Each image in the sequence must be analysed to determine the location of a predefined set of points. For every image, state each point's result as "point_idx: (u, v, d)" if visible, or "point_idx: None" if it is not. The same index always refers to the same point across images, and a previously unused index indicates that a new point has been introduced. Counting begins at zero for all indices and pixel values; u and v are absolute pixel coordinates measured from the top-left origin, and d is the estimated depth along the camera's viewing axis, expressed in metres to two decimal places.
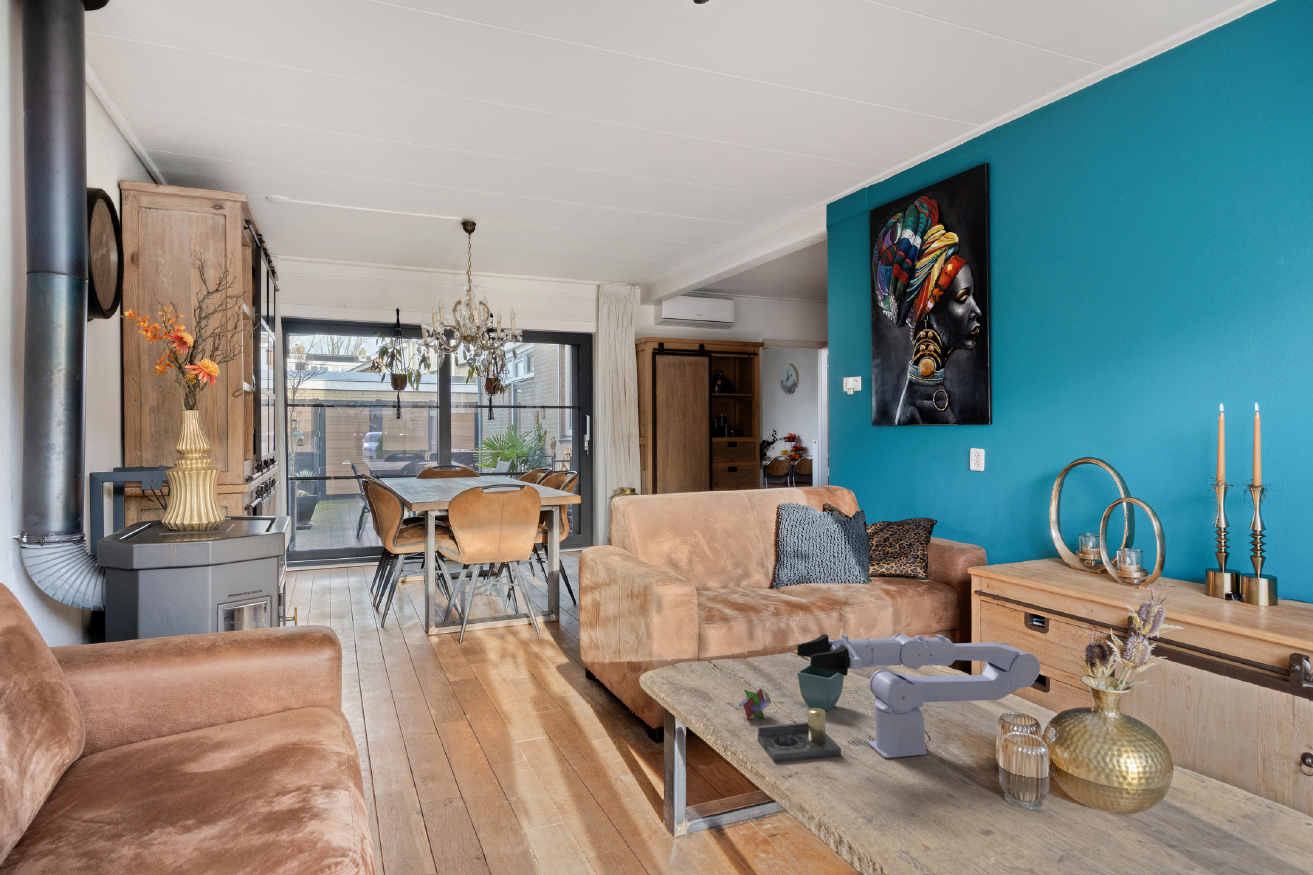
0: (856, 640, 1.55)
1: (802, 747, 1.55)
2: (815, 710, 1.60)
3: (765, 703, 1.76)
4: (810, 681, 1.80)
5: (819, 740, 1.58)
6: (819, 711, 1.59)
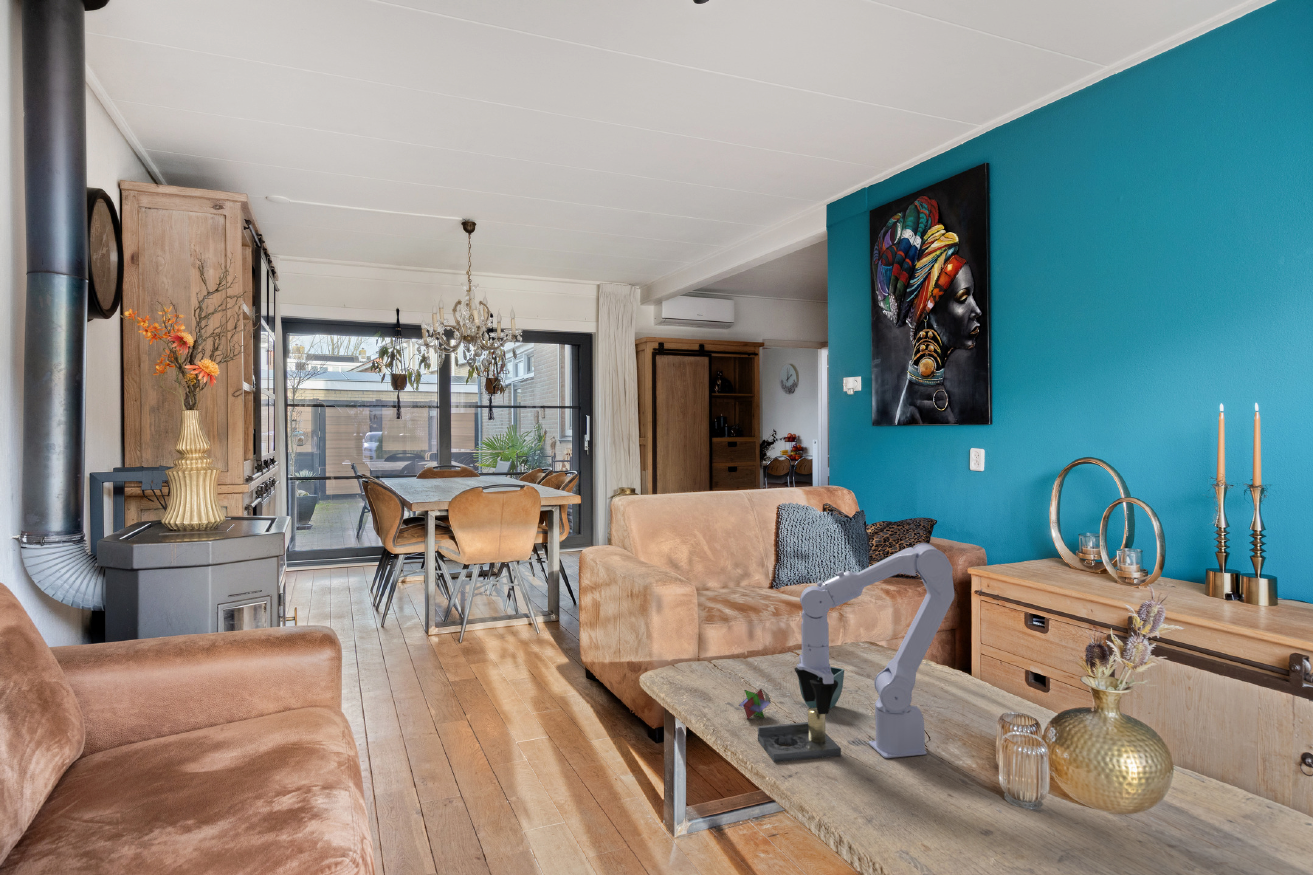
0: (803, 655, 1.59)
1: (802, 747, 1.55)
2: (815, 710, 1.60)
3: (765, 703, 1.76)
4: None
5: (819, 740, 1.58)
6: None
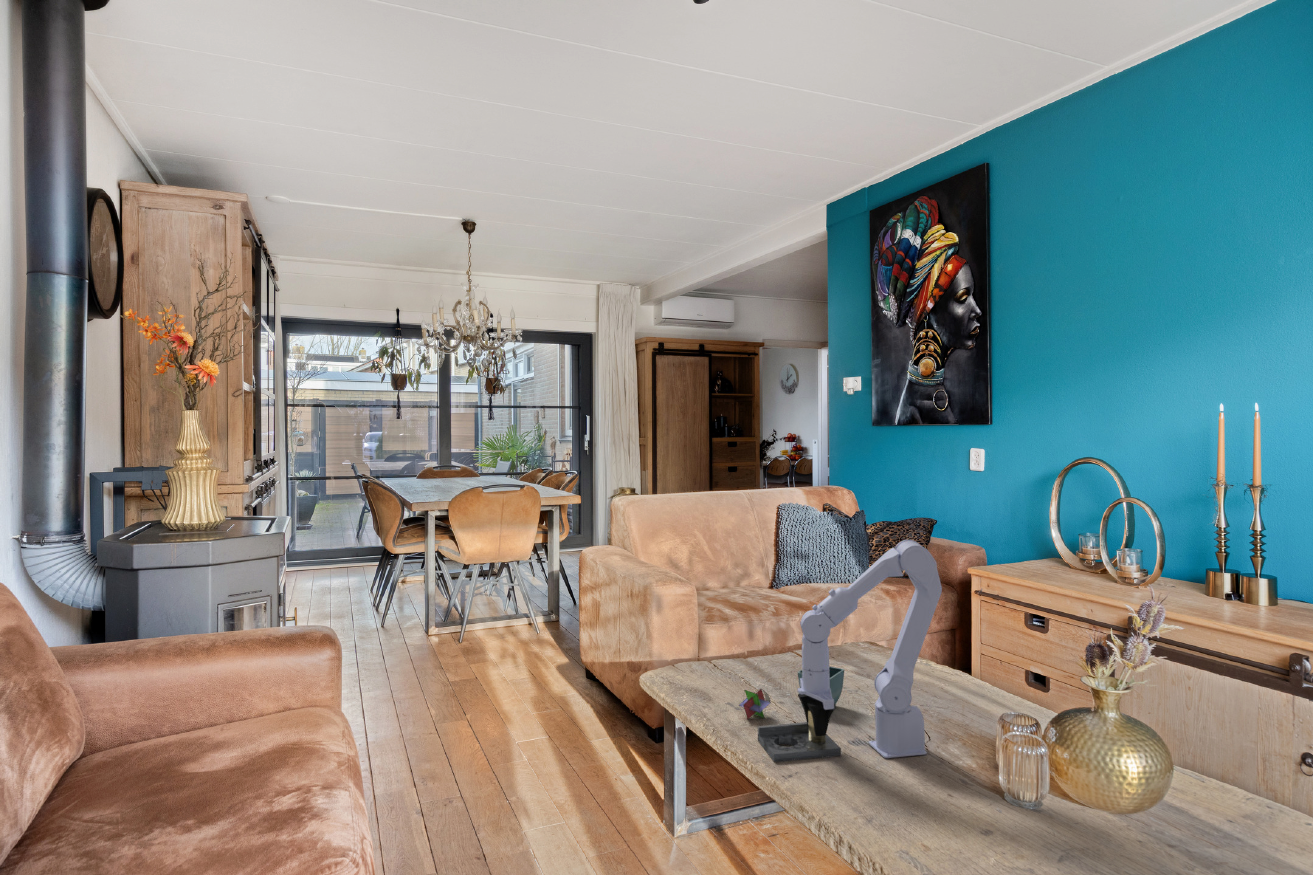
0: (804, 680, 1.59)
1: (802, 747, 1.55)
2: None
3: (765, 703, 1.76)
4: None
5: (819, 740, 1.58)
6: None
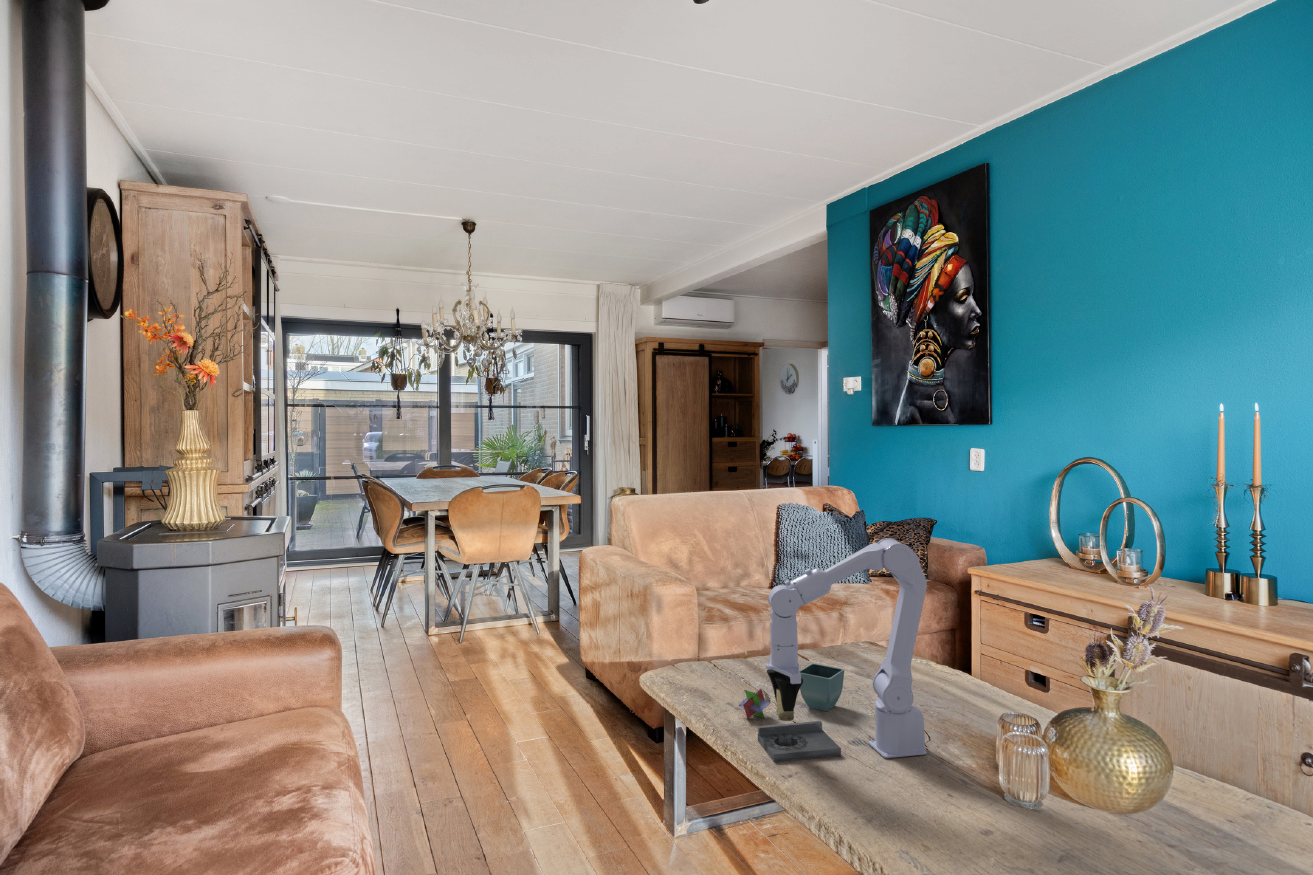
0: (772, 655, 1.58)
1: (802, 747, 1.55)
2: None
3: (765, 703, 1.76)
4: (810, 681, 1.80)
5: (787, 719, 1.56)
6: None
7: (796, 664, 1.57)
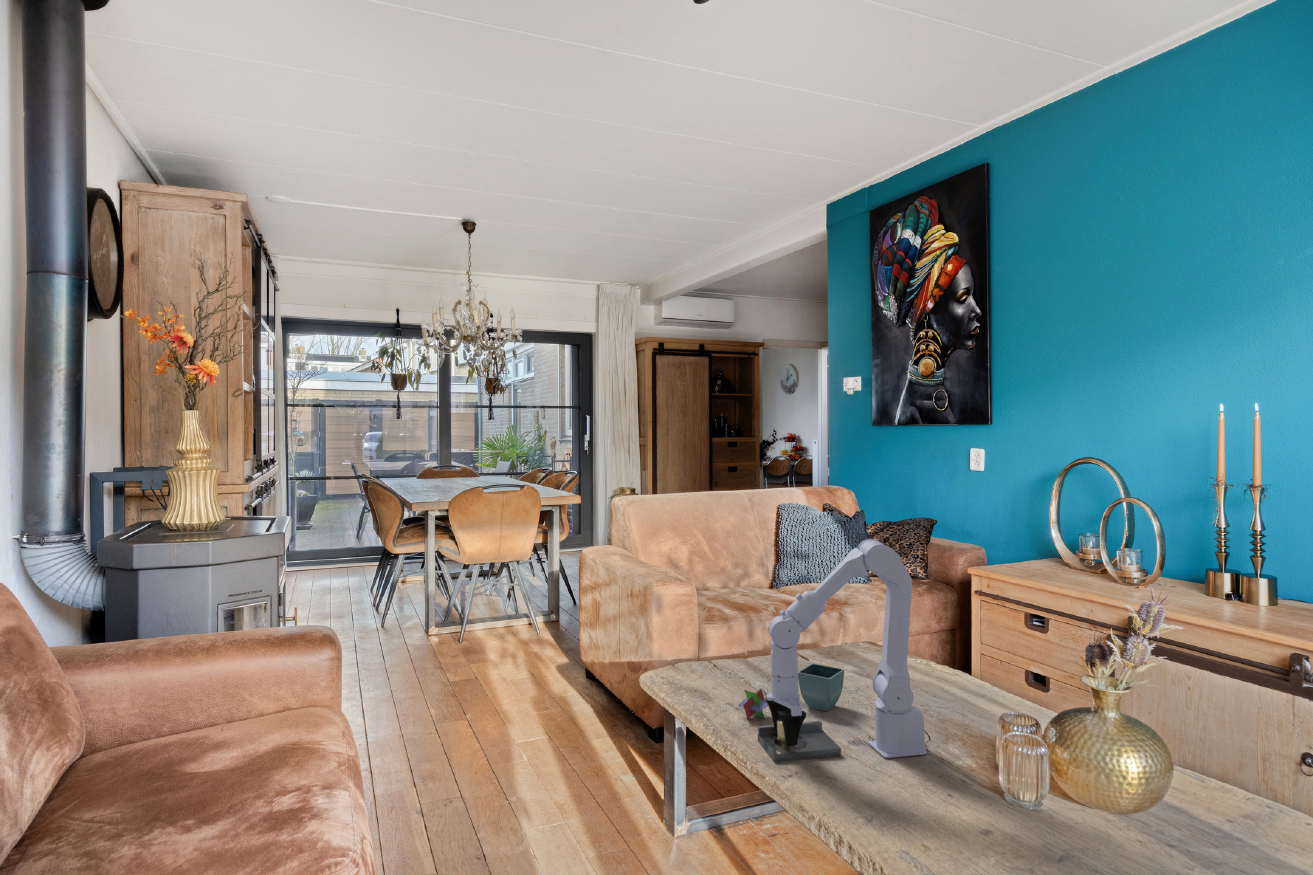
0: (772, 686, 1.57)
1: (802, 747, 1.55)
2: None
3: (765, 703, 1.76)
4: (810, 681, 1.80)
5: None
6: None
7: (797, 695, 1.57)
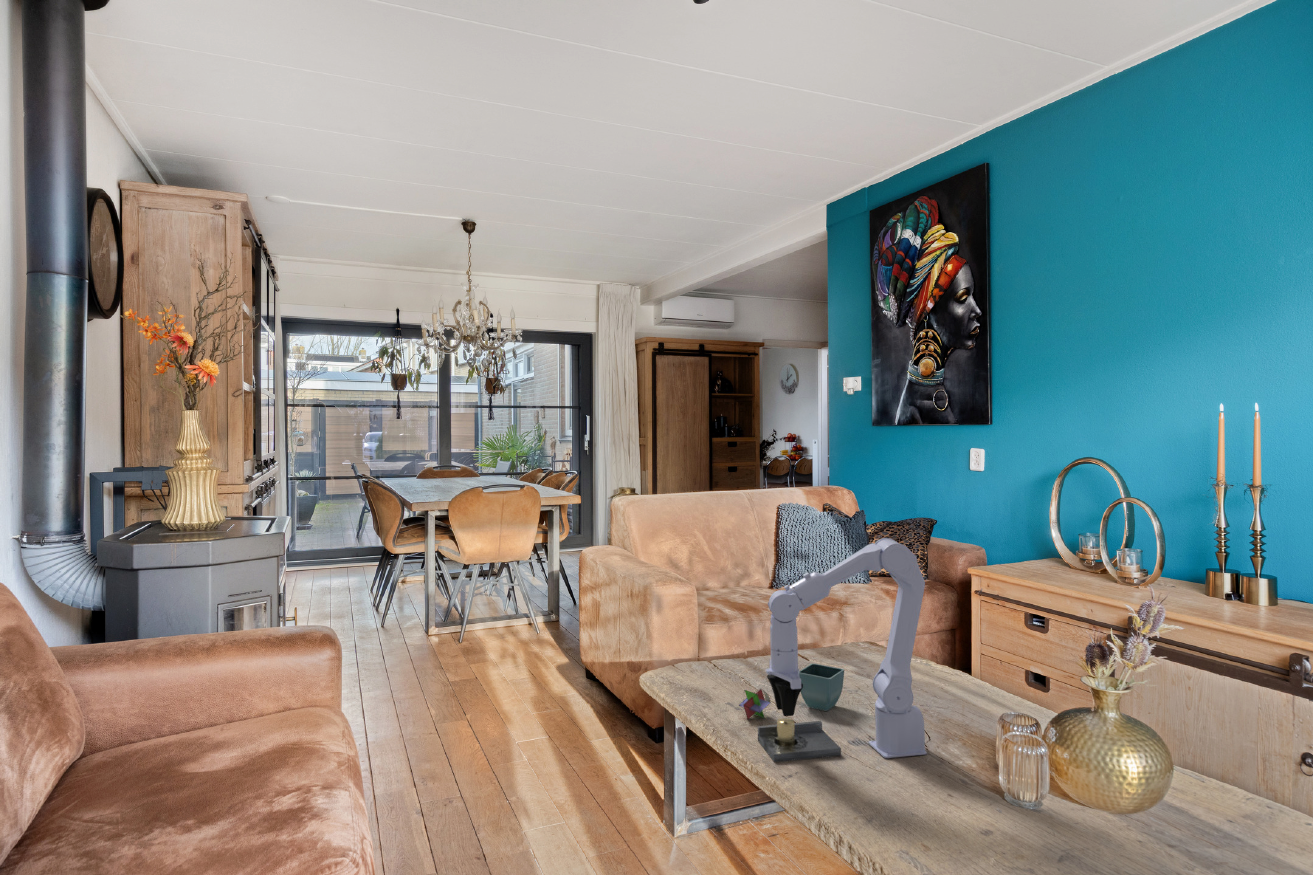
0: (772, 660, 1.58)
1: (802, 747, 1.55)
2: (784, 720, 1.59)
3: (765, 703, 1.76)
4: (810, 681, 1.80)
5: None
6: (788, 721, 1.58)
7: (796, 669, 1.57)
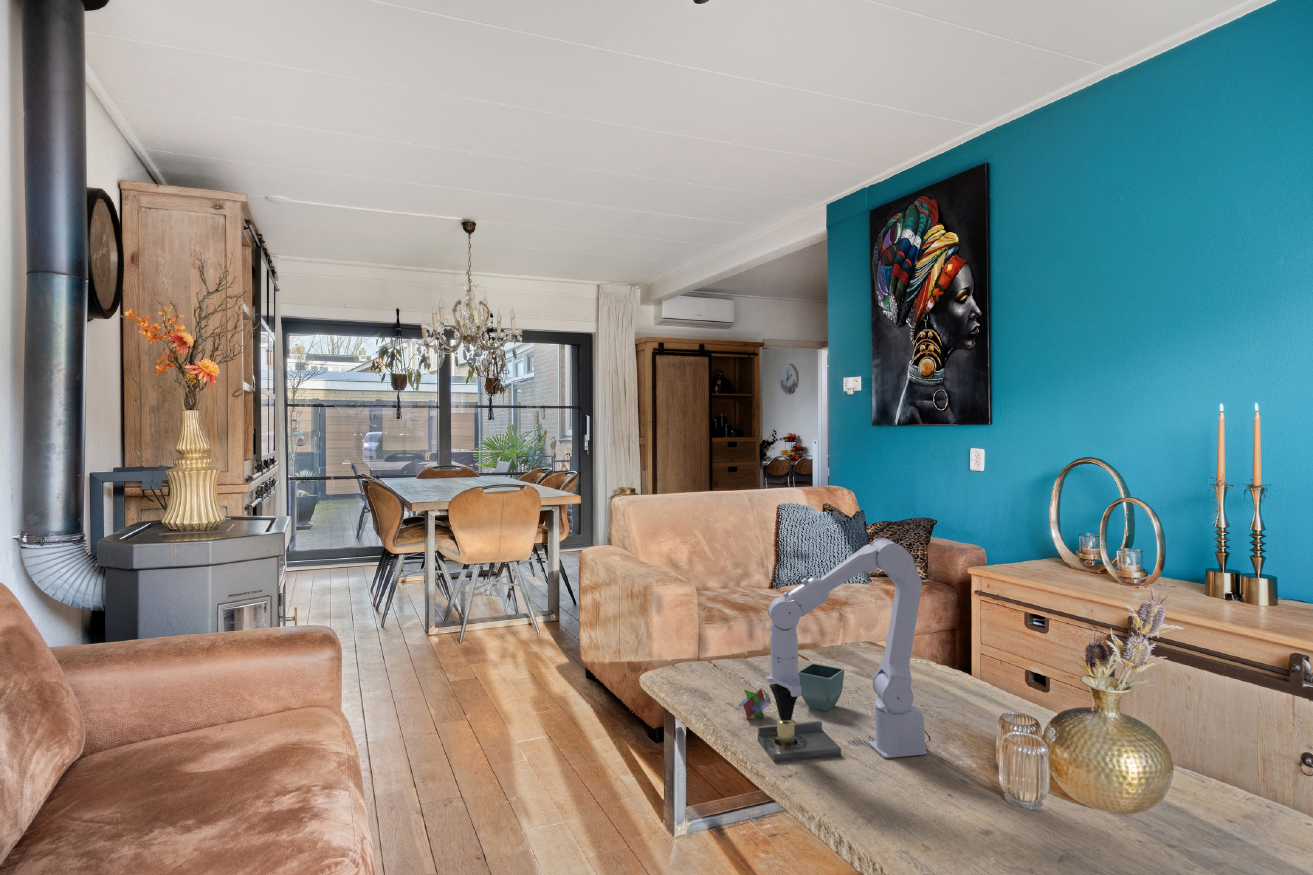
0: (772, 667, 1.57)
1: (802, 747, 1.55)
2: None
3: (765, 703, 1.76)
4: (810, 681, 1.80)
5: None
6: (788, 721, 1.58)
7: (796, 676, 1.57)
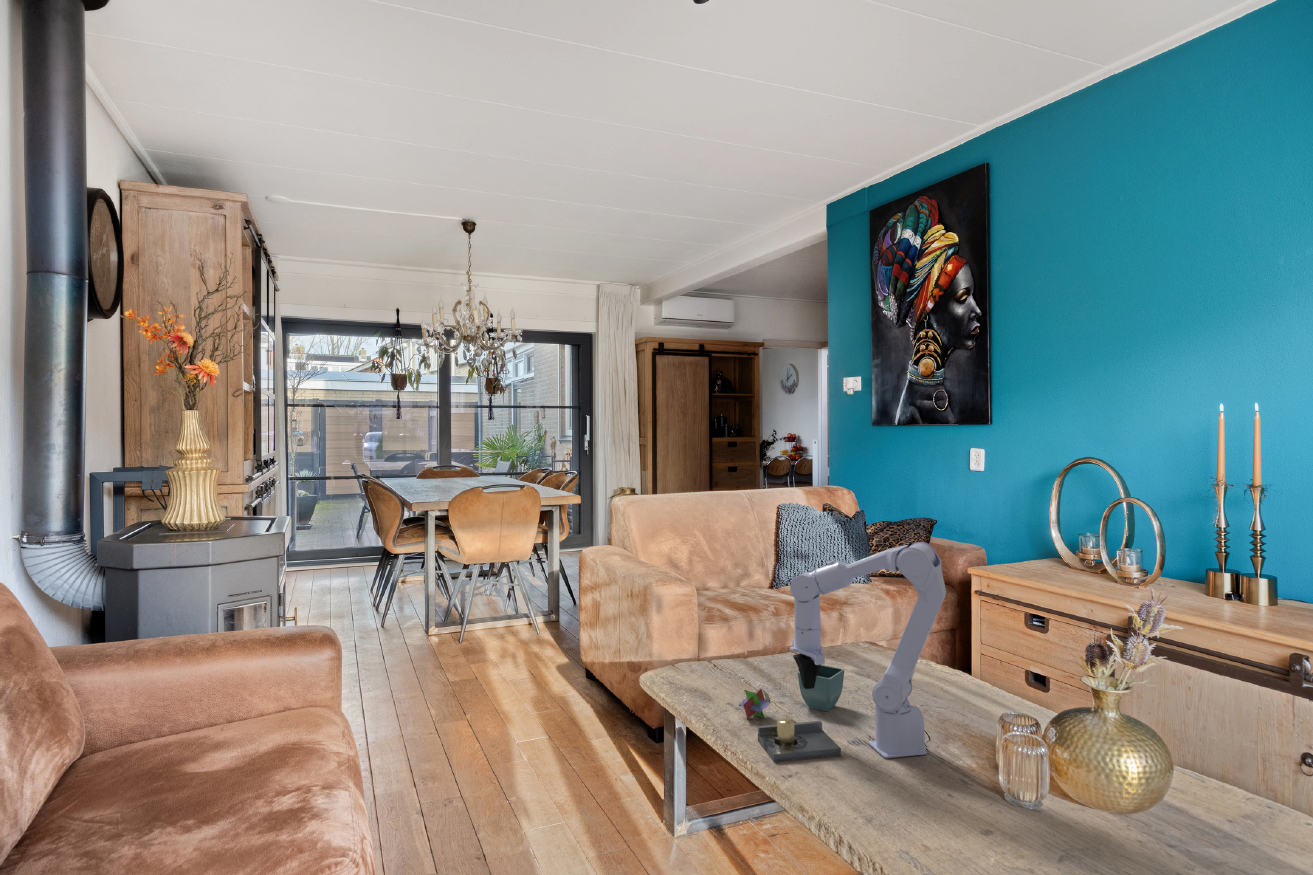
0: (796, 638, 1.66)
1: (802, 747, 1.55)
2: (784, 720, 1.59)
3: (765, 703, 1.76)
4: None
5: None
6: (788, 721, 1.58)
7: (819, 647, 1.65)
